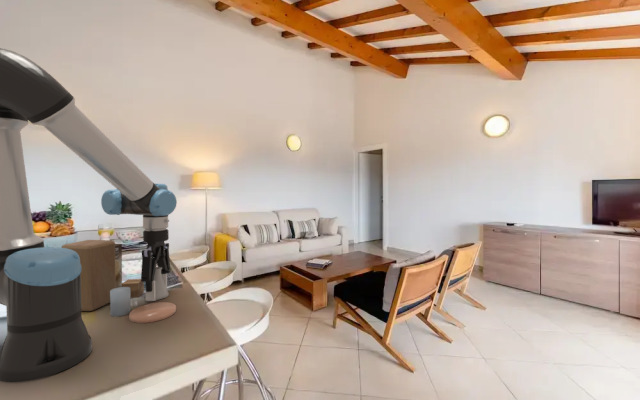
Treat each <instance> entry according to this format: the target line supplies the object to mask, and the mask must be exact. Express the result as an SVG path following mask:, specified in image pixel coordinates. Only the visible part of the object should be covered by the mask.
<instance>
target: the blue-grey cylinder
mask: <svg viewBox="0 0 640 400" xmlns="http://www.w3.org/2000/svg"><path fill="white" fill-rule="evenodd" d="M131 303H132V301H131V293H130V287H122V286H120V287H118V288H115V289H112V290H110V303H109V304H110V307H109V308H110V313H109V314H110V316H111V317H122V316H125V315H128V314H129V313H130V312H131V311H132V310H131V309H132V308H131V307H132V305H131Z"/></svg>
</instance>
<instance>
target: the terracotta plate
mask: <svg viewBox="0 0 640 400" xmlns="http://www.w3.org/2000/svg"><path fill="white" fill-rule="evenodd" d="M176 312H177V304H175V303H173V302H169V301H168V302H166V301H162V302H160V301H159V302H153V303H152V302H151V303H147V304H144V305H140V306H137V307H135V308H133V309H132V310H131V312H130V313H128V314H129V317H128V318H129V320H130V322H132V323H137V324H145V323H147V324H149V323H153V322H158V321H162V320H165V319H168V318H170V317H172V316H174V315H175V313H176Z"/></svg>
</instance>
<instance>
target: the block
mask: <svg viewBox="0 0 640 400" xmlns="http://www.w3.org/2000/svg"><path fill="white" fill-rule="evenodd" d="M115 244H116V242H115V241H114V240H107V239H86V240H81V241H75V242H71V243H66V244H63V245H61V247H60V248H67V249H71V250H73V251H75V252H77V253H78V255H79V257H80V264H81V268H82V269H81V312H92V311H95V310H97V309H100V308H101V307H104V306H105V305H106V306H107V305H108V304H110V290H112V289H115V288H116V276H115Z"/></svg>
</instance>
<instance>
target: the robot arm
mask: <svg viewBox="0 0 640 400" xmlns="http://www.w3.org/2000/svg"><path fill="white" fill-rule="evenodd" d="M75 99H76V98H75V97H74V96H73V95H72V94H71V93H70V92H69V91H68V90H67V89H66V87H64V86H63V85H62V83H60V82H59V81H58V80H57V79H56V78H54V76H52V75H51V74H50V73H49V72H48V71H46V70H45V69H44V68H42V67H41V66H40V65H38V64H37V63H36V62H34V61H32V60H31V59H29V58H28V57H26V56H24V55H23V54H20V53H18V52H16V51H14V50H13V51H12V50H11V49H10V50H9V49H6V48H1V47H0V305H3V306H5V308H6V309H5V310H6V336H5V339H4V341H3V344H2V345H1V349H0V382H4V383H22V382H28V381H29V382H30V381H33V380H34V381H35V380H38V379H39V380H40V379H43V378H46V377H49V376H51V375H54V374H55V375H56V374H57V373H60V372H63V371H65V370H67V369H70V368H72V367H73V366H75V365H77V364H79V363H81V362H82V361H83V360H85V359H86V358H87V357H88V356H89V355H90V354H91V353H92V350H93V342H92V341H93V339H92V337H91V336H90V334H89V332H88V329H87V327H86V324H85V322H84V320H83V317H82V311H81V269H82V268H81V264H80V257H79V255H78V253H77V252H75V251H73V250H71V249H67V248H61V247H51V246H49V247H46V246H45V242H44V241H45V240H44V238H42V237H40V236H38V235H37V234H36V233H35V232H34V225H33V216H32V211H31V203H30V202H31V201H30V195H29V188H28V179H27V174H26V173H27V172H26V165H25V158H24V150H23V143H22V135H21V131H22V130H23V129H24V128H25V127H26V126H28V125H29V122H30V123H31V124H32V125H36V126H37V125H38V126H43V128H45V129H46V130H47V131H48V132H50V134H52V135H53V136H54V137H56V138H57V139H58V140H59V141H60V142H62V144H64V145H65V147H67V148H69V150H71V151H72V152H73V153H74V154H75V155H77V156H78V158H80V159H81V160H82V161H83V162H85V163H86V164H87V165H88V166H89V167H91V168H92V169H93V170H94V171H95V172H97V174H99V175H100V176H101V177H103V179H105V180H106V181H107V182H109V184H111V185H112V186H113V187H114V188H115V189H108V190H105V191H104V193H102V195H101V201H100V202H101V203H100V204H101V209H102V210H103V212H104V213H106V214H107V215H110V216H111V215H113V216H115V215H117V216H120V215H134V216H135V215H136V216H139V215H140V216H142V229H144V230H143V231H142V235H143V236H142V239H143V240H142V241H143V242H144V243H147V246H146V249H143V250H141V259H142V260H141V273H140V276H141V277H140V279H141V281H142V282H144V283H145V294H146V299H145V302H154V301H155V302H156V301H157V300H156V296H155V281H153V280H154V275H155V269H156V267H161V268H162V269H161V275H162V279H163V282H164V284H165V286H166V288H167V289H168V274H170V273H171V265H170V264H171V263H170V261H171V260H170V250H169V249H170V244H169V243H168V242H167V241H168V240H169V230H168V229H167V228H169V222H170V219H169V215H172V213H173V212H174V211H175V210H176V207H177V204H178V203H177V201H178V200H177V197H176V194H175V193H173V192H172V191H171V190H169V189H168V185H167V184H165V183H154V182H153V181H152V180H151V179H150V178H149V177H148V176H147V175H146V174H145V173H144V171H142V170H141V169H140V168H139V167H138V166H137V164H135V163H134V162H133V161H132V160H131V159H130V158H129V157H128V156H127V155H126V154H125V153H124V152H123V151H122V150H121V149H120V148H119V147H118V146H117V145H116V144H115V143H114V142H113V141H112V140H111V139H110V138H109V137H107V135H106V134H105V133H104V132H103V131H102V130H101V129H100V128H98V126H97V125H96V124H95V123H93V122H92V120H90V119H89V118H88V117H87V116H86V115H85V113H84V112H83V111H81V110H80V109H79V107H77V105H76V100H75Z"/></svg>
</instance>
